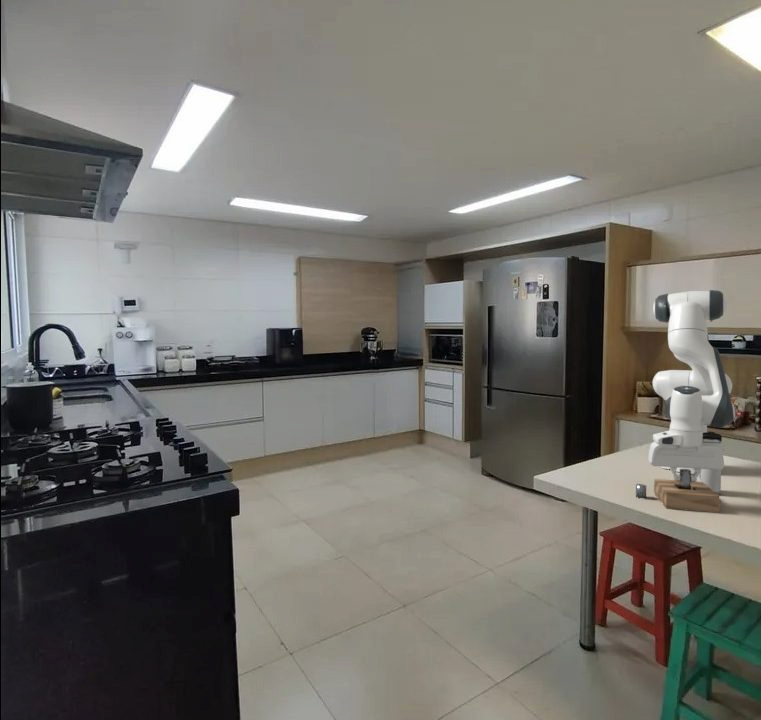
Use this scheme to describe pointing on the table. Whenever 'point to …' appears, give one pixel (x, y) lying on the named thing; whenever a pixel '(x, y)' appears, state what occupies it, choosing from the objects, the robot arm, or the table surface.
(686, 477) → the tall pin
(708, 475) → the travel mug
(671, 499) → the hole block
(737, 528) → the table surface
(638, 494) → the short pin
